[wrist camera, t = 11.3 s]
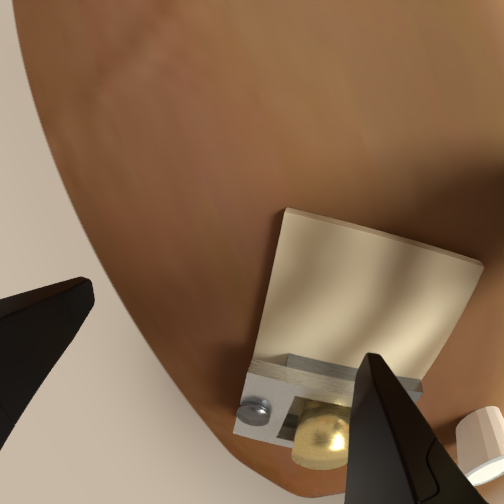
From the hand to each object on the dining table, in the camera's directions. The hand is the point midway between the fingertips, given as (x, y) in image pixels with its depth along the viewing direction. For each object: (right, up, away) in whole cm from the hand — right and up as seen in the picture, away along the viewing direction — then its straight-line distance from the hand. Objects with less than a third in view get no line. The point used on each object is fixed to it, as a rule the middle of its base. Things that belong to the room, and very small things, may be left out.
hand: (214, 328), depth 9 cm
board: (+8, -6, +14) cm, 18 cm away
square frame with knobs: (+8, -10, +16) cm, 20 cm away
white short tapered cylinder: (+26, -16, +15) cm, 34 cm away
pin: (+8, -10, +15) cm, 20 cm away
